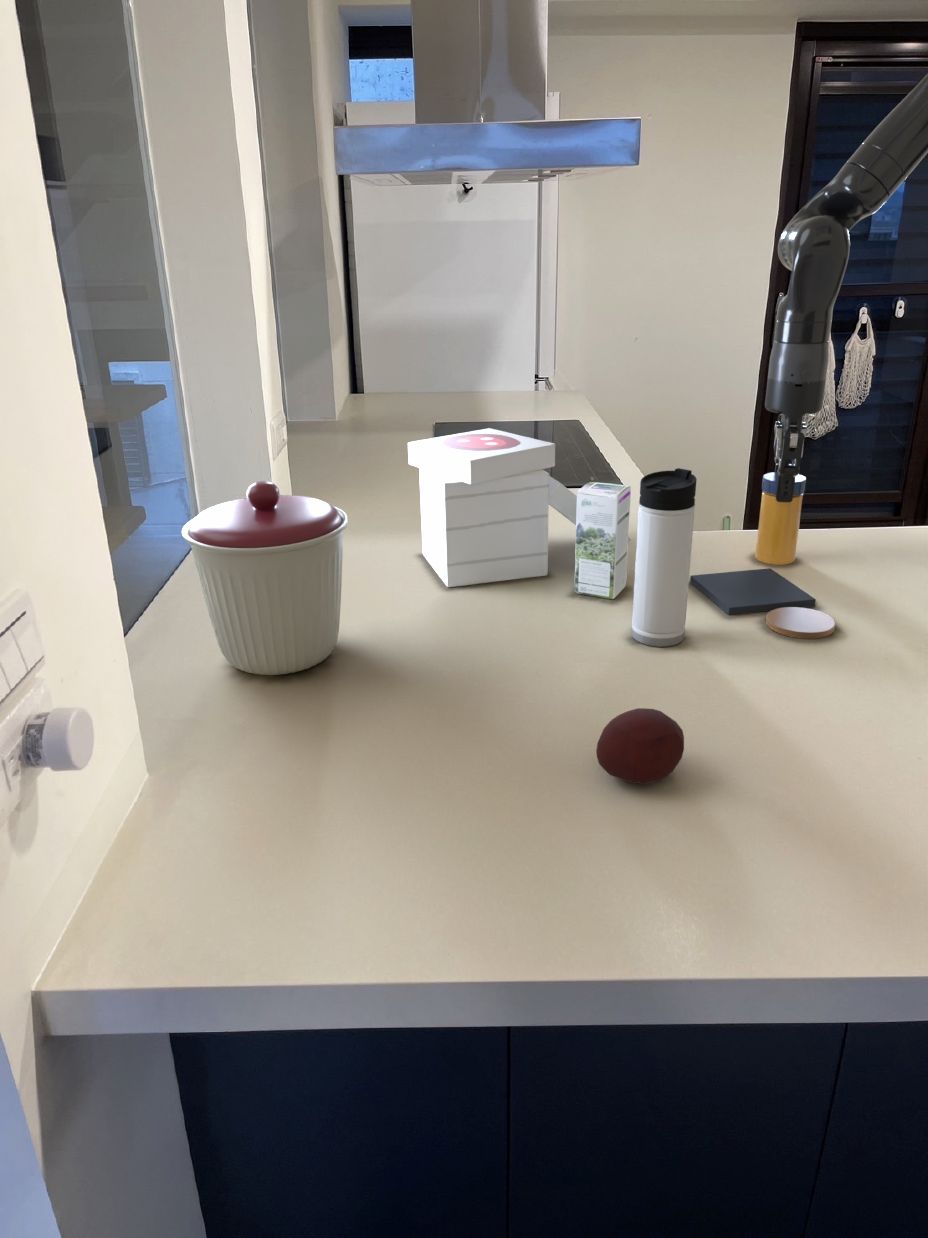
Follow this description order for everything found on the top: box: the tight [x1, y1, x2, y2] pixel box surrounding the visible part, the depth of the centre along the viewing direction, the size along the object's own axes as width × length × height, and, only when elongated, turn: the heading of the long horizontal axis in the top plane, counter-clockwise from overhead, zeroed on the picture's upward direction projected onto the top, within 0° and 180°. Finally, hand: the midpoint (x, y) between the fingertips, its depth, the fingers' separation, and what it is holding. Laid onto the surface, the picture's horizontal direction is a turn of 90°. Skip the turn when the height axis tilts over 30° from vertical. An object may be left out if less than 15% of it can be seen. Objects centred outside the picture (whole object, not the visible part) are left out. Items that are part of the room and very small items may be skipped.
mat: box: [689, 567, 817, 616], centre depth 121 cm, size 12×12×1 cm
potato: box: [595, 707, 685, 785], centre depth 81 cm, size 7×8×6 cm
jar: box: [754, 490, 804, 566], centre depth 132 cm, size 6×6×12 cm
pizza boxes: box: [407, 427, 633, 588], centre depth 132 cm, size 19×30×18 cm, turn 106°
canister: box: [181, 480, 350, 676], centre depth 103 cm, size 18×18×21 cm
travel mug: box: [631, 467, 697, 648], centre depth 106 cm, size 6×7×20 cm
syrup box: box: [574, 481, 632, 600], centre depth 121 cm, size 6×6×14 cm
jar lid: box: [761, 471, 807, 496], centre depth 129 cm, size 6×6×2 cm
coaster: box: [765, 607, 836, 640], centre depth 112 cm, size 8×8×1 cm
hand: (782, 494), depth 130 cm, fingers closed on jar lid, 5 cm apart
